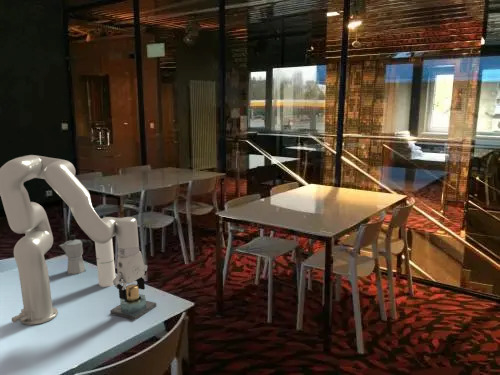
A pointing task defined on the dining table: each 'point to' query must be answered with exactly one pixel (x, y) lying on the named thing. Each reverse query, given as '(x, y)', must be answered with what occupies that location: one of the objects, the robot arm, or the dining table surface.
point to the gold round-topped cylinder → (132, 293)
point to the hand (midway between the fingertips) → (132, 293)
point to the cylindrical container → (105, 263)
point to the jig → (133, 308)
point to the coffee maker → (75, 254)
